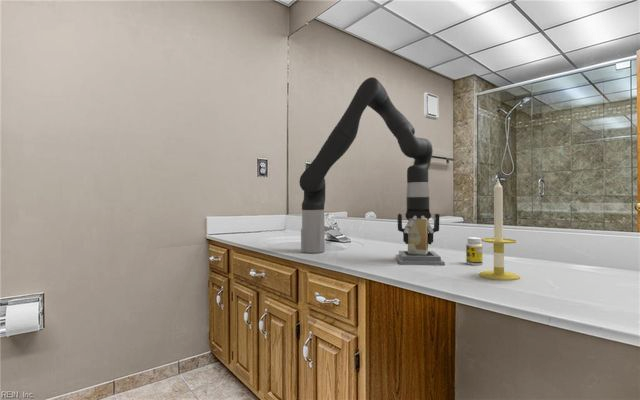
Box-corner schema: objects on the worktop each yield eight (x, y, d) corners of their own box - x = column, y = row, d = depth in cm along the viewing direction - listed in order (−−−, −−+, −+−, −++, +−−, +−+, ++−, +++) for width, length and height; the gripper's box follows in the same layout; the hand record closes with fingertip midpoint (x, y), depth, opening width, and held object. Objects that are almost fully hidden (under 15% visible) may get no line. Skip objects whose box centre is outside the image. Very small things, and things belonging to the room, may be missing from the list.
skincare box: (407, 253, 115) (407, 218, 115) (410, 252, 119) (409, 217, 119) (426, 255, 112) (426, 218, 112) (429, 253, 116) (428, 217, 116)
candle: (502, 281, 85) (501, 176, 85) (470, 274, 95) (469, 178, 95) (528, 277, 89) (527, 176, 89) (495, 270, 99) (494, 178, 99)
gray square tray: (400, 264, 109) (400, 256, 109) (395, 257, 123) (395, 250, 123) (444, 265, 107) (444, 257, 107) (435, 257, 121) (435, 250, 121)
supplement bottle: (463, 263, 110) (462, 237, 110) (473, 261, 112) (473, 236, 112) (475, 265, 106) (474, 239, 106) (485, 264, 108) (485, 238, 108)
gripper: (397, 196, 112) (398, 245, 112) (442, 195, 110) (442, 245, 111) (395, 196, 120) (395, 242, 120) (436, 195, 118) (437, 242, 118)
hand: (418, 243), depth 115 cm, fingers closed on skincare box, 7 cm apart
